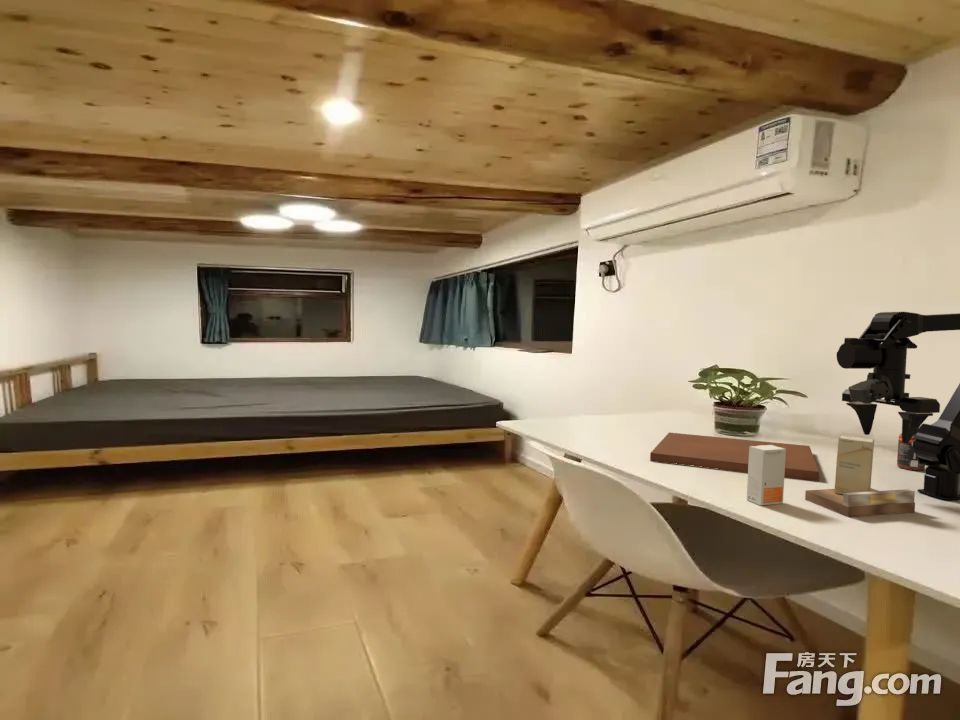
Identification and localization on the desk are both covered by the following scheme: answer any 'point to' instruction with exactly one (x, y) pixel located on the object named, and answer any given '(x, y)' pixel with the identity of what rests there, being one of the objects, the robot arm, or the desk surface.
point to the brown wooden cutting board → (730, 454)
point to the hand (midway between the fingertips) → (885, 438)
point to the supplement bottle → (908, 455)
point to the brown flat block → (864, 501)
